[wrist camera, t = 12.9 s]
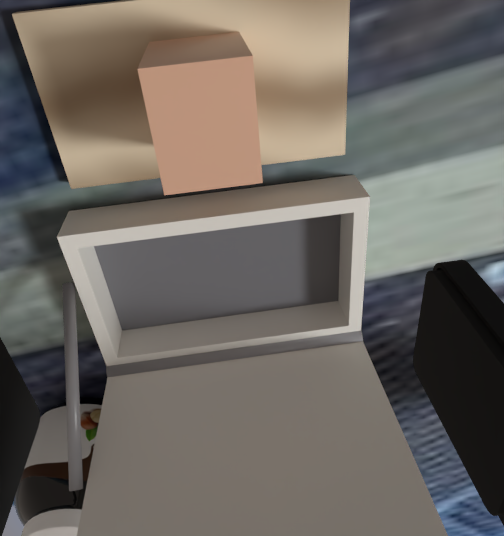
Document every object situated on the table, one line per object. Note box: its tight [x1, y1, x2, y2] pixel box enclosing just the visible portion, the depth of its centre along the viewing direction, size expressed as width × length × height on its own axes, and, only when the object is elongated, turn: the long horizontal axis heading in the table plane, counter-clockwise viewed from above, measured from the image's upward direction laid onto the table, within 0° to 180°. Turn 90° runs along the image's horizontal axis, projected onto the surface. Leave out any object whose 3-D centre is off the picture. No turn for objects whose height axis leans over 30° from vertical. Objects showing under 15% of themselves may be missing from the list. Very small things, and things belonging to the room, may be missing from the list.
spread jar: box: [14, 398, 103, 536], centre depth 39 cm, size 12×11×12 cm
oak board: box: [12, 0, 350, 189], centre depth 28 cm, size 10×18×1 cm, turn 95°
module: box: [138, 32, 263, 195], centre depth 25 cm, size 6×5×7 cm
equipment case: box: [57, 175, 448, 536], centre depth 28 cm, size 14×21×20 cm, turn 95°
